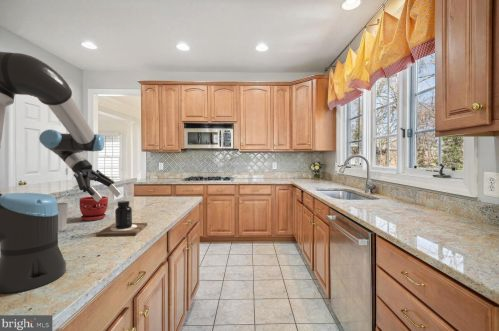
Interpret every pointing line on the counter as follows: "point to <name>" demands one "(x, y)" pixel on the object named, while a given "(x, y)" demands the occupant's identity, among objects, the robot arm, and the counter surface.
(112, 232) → the walnut board
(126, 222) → the supplement bottle
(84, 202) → the plant pot
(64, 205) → the cup
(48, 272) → the robot arm
